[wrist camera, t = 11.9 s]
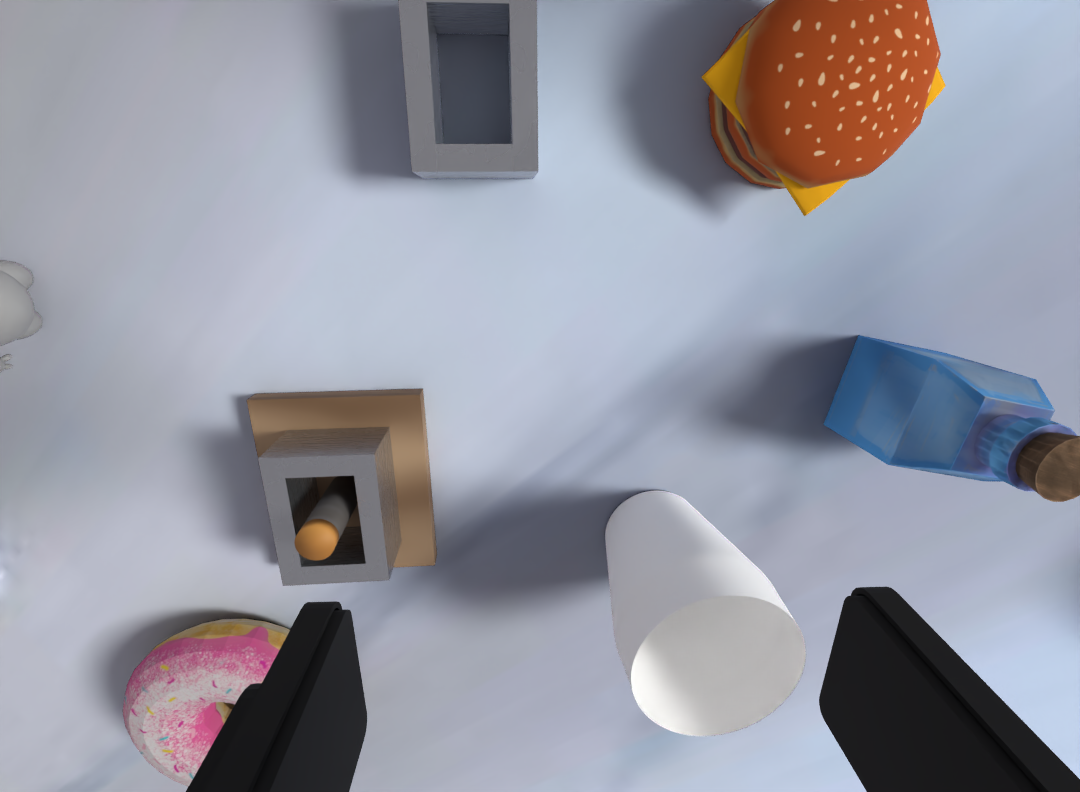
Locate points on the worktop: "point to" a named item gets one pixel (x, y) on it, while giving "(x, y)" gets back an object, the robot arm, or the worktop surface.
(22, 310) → the figurine
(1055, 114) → the worktop surface
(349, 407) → the keeper
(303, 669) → the robot arm
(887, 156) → the hamburger
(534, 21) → the grey hollow block
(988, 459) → the perfume bottle
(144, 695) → the donut
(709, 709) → the cup
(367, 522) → the link
